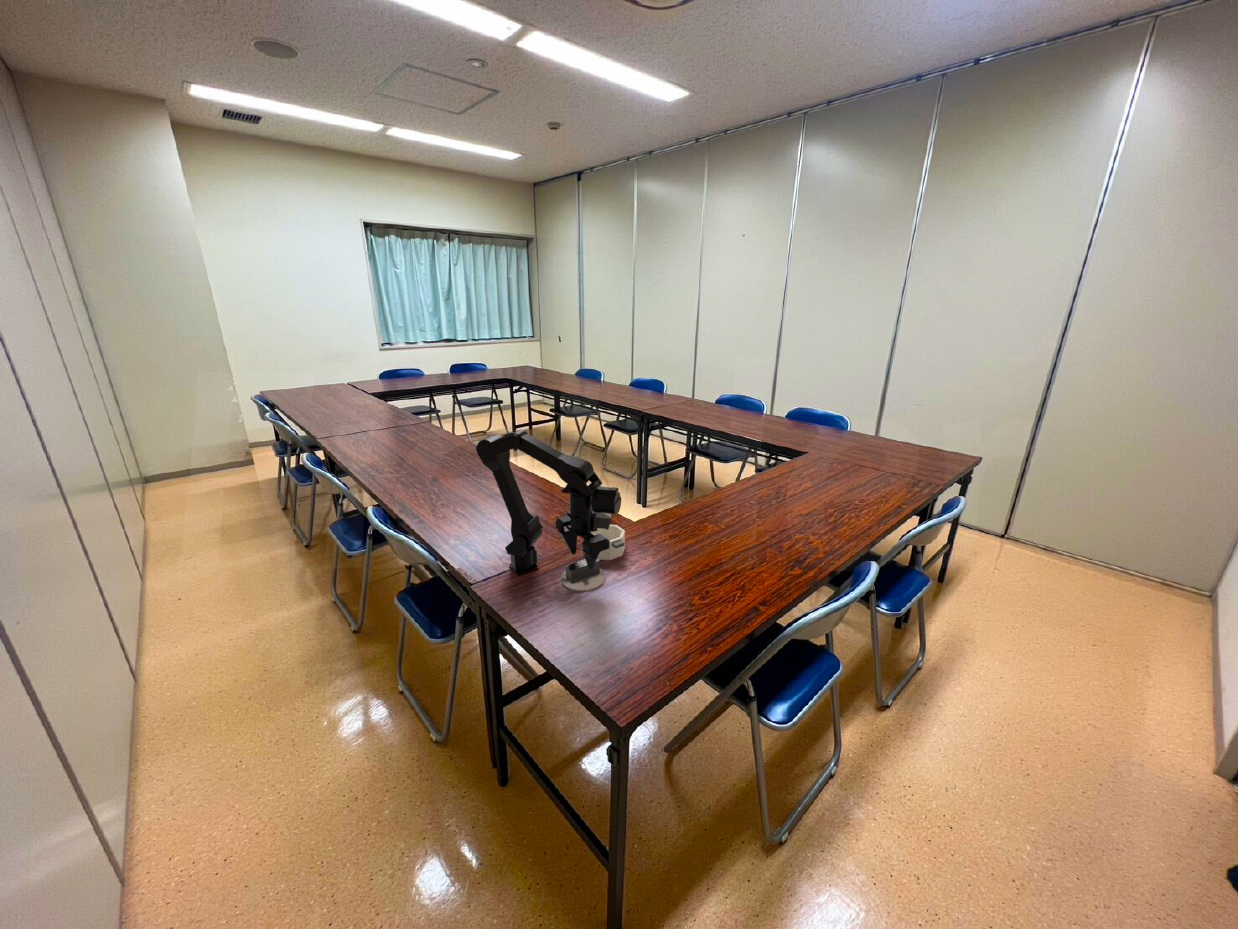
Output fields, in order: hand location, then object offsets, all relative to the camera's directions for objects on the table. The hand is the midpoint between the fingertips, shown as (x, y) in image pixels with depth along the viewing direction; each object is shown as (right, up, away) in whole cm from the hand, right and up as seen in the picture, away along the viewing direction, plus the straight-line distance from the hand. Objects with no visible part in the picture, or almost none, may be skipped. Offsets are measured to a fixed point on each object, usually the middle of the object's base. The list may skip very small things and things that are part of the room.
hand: (582, 561), depth 128 cm
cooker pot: (+6, 0, +16) cm, 17 cm away
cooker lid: (0, -5, +2) cm, 6 cm away
